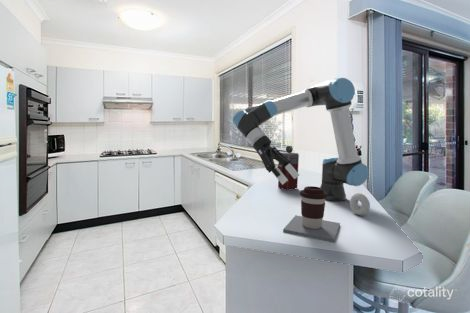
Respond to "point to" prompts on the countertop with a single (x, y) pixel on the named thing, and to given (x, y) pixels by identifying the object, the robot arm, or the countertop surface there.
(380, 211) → the countertop surface
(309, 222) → the coffee cup
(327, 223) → the mat
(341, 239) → the countertop surface
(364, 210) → the donut
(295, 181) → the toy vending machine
